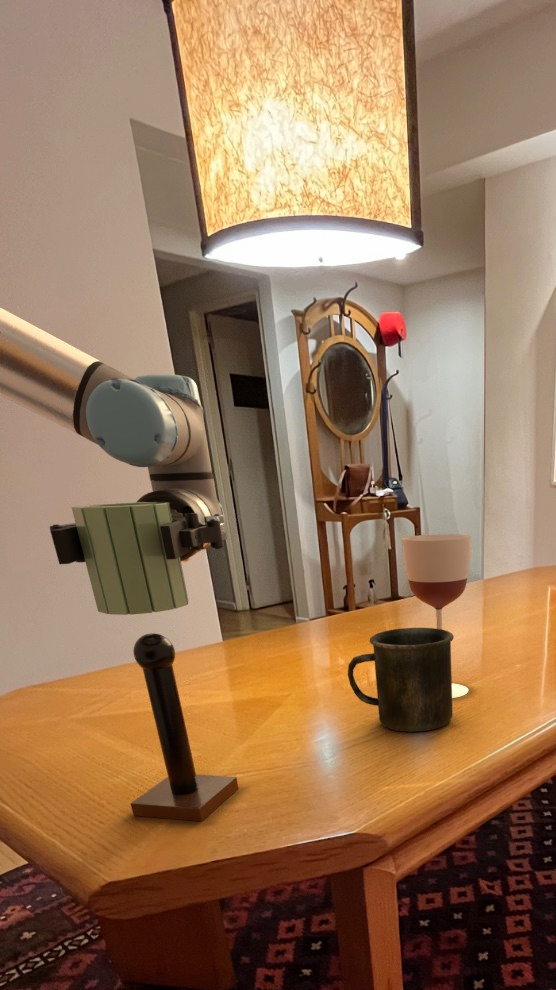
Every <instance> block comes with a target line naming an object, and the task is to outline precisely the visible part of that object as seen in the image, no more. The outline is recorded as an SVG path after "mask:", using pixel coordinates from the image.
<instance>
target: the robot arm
mask: <svg viewBox="0 0 556 990" xmlns="http://www.w3.org/2000/svg"><path fill="white" fill-rule="evenodd" d="M0 397H2V398H5V399H7V400H9V401H11V402H13V403H15V404H17V405H19V406H21V407H23V408H25V409H27V410H29V411H31V412H33V413H35V414H37V415H40V416H41V417H43V418H45V419H47V420H49V421H50V422H53V423H55V424H57V425H58V426H61V427H63V428H65V429H67V430H69V431H71V432H73V433H75V434H77V435H79V436H81V437H82V438H85V439H86V440H87V441H90V442H92V443H94V444H96V445H98V447H100V448H101V450H103V452H105V453H106V454H107V455H108V456H110V457H112V458H113V459H115V460H117V461H119V462H122V463H125V464H127V465H130V466H133V467H136V468H147V472H148V476H149V481H150V484H151V490H152V491H150V492H147V493H145V494H143V495H142V496H141V497H139V498H138V499H137V501H136V503H137V502H169V504H170V509H171V514H172V519H173V522H172V523H169V524H166V525H163V526H160V529H161V533H162V538H163V543H164V548H165V553H166V558H167V559H177V558H179V557H180V560H181V562H184V563H187V562H189V561H190V558H191V557H193V556H195V555H196V554H198V553H199V552H201V551H202V550H207V549H209V548H211V549H215V550H220V549H222V548H224V547H225V546H224V545H225V544H224V541H225V540H228V536H227V532H226V524H225V523H226V517H225V511H224V508H223V505H222V504H221V503H220V501H219V500H218V496H217V492H216V486H215V478H214V476H213V474H214V473H213V471H212V470H213V469H212V464H211V458H210V451H209V446H208V437H207V433H206V427H205V421H204V414H205V412H204V408H203V406H202V403H201V399H200V394H199V390H198V386H197V384H196V382H195V381H194V380H193V379H192V378H191V377H189V376H185V375H179V374H170V373H169V374H168V373H167V374H166V373H156V374H155V373H153V374H150V373H149V374H141V375H137V376H136V377H134V378H133V377H131V376H129V375H127V374H125V373H124V372H122V371H119V370H118V369H116V368H114V367H112V366H110V365H107V364H106V363H104V362H102V361H100V360H99V359H97V358H95V357H94V356H92V355H90V354H88V353H86V352H84V351H82V350H80V349H79V348H77V347H75V346H73V345H71V344H69V343H67V342H65V341H64V340H61V339H60V338H58V337H57V336H54V335H52V334H50V333H48V332H47V331H45V330H43V329H42V328H39V327H37V326H36V325H33V324H32V323H30V322H28V321H26V320H24V319H23V318H21V317H19V316H17V315H15V314H13V313H11V312H10V311H8V310H6V309H4V308H2V307H0ZM48 527H49V530H50V535H51V538H52V543H53V545H54V550H55V553H56V557H57V561H58V564H59V565H69V564H72V563H86V562H85V558H84V554H83V550H82V547H81V543H80V539H79V535H78V531H77V527H76V523H75V522H72V523H71V522H70V523H65V524H52V525H50V526H48Z"/></svg>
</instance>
